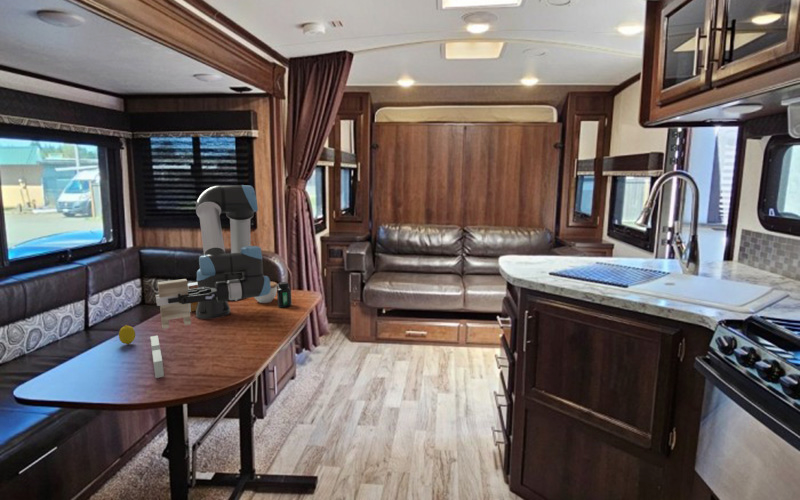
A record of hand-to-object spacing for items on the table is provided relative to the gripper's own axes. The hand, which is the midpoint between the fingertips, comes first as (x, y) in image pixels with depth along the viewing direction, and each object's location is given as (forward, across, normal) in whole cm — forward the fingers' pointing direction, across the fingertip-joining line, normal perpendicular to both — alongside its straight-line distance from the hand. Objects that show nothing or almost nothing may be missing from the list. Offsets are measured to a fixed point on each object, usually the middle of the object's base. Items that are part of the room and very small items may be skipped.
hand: (156, 300), depth 157 cm
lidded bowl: (-53, +60, -23) cm, 83 cm away
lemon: (+10, +28, -23) cm, 37 cm away
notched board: (+2, +2, -23) cm, 23 cm away
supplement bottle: (-58, +45, -23) cm, 77 cm away
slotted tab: (-5, 0, -10) cm, 11 cm away
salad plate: (-40, +78, -24) cm, 91 cm away
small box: (-20, +65, -23) cm, 72 cm away
